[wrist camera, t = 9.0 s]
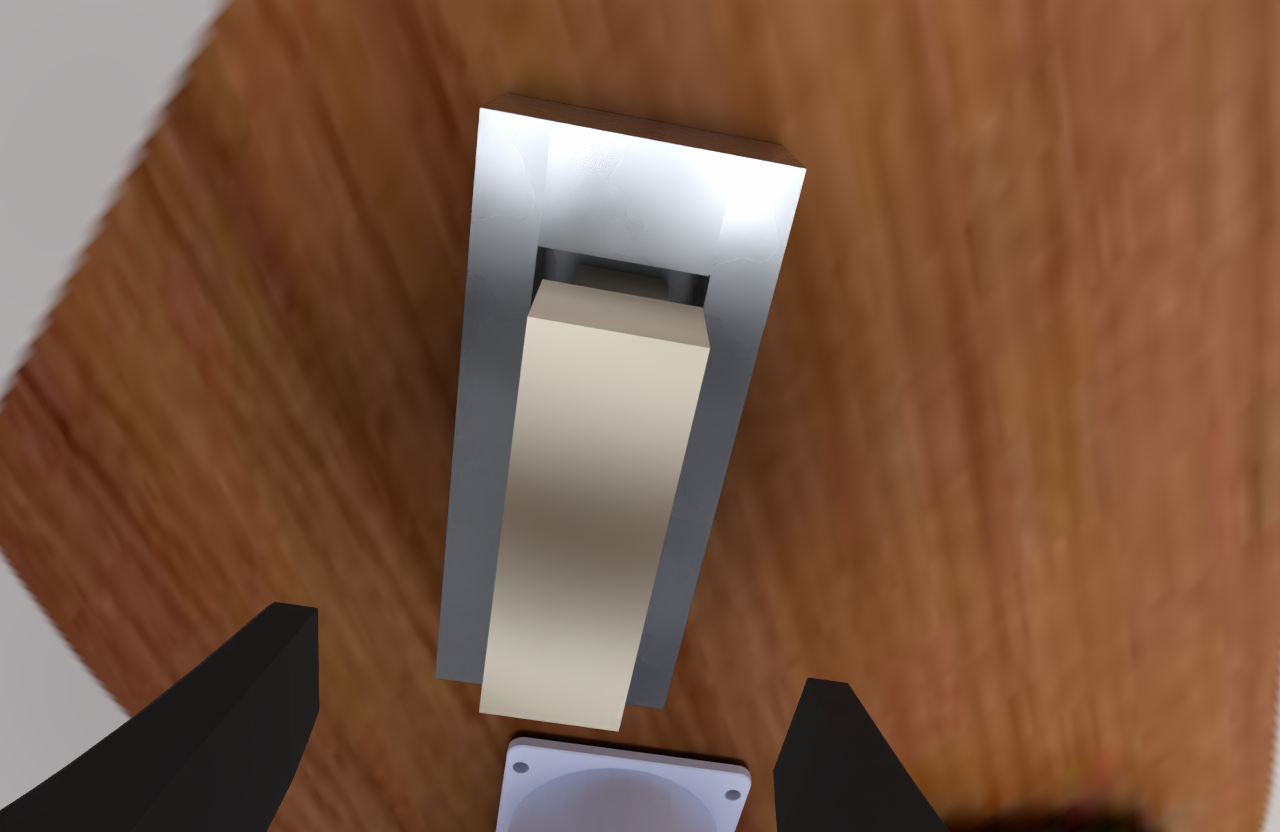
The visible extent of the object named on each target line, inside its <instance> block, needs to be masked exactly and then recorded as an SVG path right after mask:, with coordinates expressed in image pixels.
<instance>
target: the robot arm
mask: <svg viewBox="0 0 1280 832" xmlns="http://www.w3.org/2000/svg"><path fill="white" fill-rule="evenodd" d="M318 712H319V660H318V608H314V607H307V606H300V605H293V604H286V603H279V602H274V603H272V604H271V605H269V606H268V607H266V608H265V609H264V610H263V611H262V612H260V613H259V614H258V615H257V616H256V617H254V618H253V619H252V620H251V621H250V622H249V623H247V624H246V625H245V626H244V627H243V628H242V629H240V630H239V631H238V632H237V633H236V634H235V635H233V636H232V637H231V638H230V639H229V640H228V641H226V642H225V643H224V644H223V645H222V646H221V647H219V648H218V649H217V650H216V651H215V652H213V653H212V654H211V655H210V656H209V657H207V658H206V659H205V660H204V661H203V662H201V663H200V664H199V665H198V666H197V667H195V668H194V669H193V670H192V671H190V672H189V673H188V674H187V675H186V676H184V677H183V678H182V679H180V680H179V681H178V682H177V683H175V684H174V685H173V686H172V687H170V688H169V689H168V690H167V691H165V692H164V693H163V694H162V695H160V696H159V697H158V698H157V699H155V700H154V701H153V702H152V703H150V704H149V705H148V706H147V707H145V708H144V709H143V710H142V711H140V712H139V713H138V714H136V715H135V716H134V717H132V718H131V719H130V720H128V721H127V722H126V723H124V724H123V725H122V726H120V727H119V728H118V729H116V730H115V731H114V732H112V733H111V734H109V735H108V736H107V737H105V738H104V739H103V740H101V741H100V742H98V743H97V744H96V745H94V746H93V747H92V748H90V749H89V750H88V751H86V752H85V753H83V754H82V755H81V756H79V757H78V758H77V759H75V760H74V761H73V762H71V763H70V764H68V765H67V766H66V767H64V768H63V769H61V770H60V771H58V772H57V773H56V774H54V775H52V776H51V777H50V778H48V779H47V780H45V781H44V782H42V783H41V784H39V785H38V786H36V787H35V788H33V789H32V790H30V791H29V792H28V793H26V794H25V795H23V796H21V797H20V798H19V799H17V800H15V801H14V802H12V803H11V804H9V805H7V806H6V807H4V808H3V809H1V810H0V832H267V830H268V828H269V826H270V824H271V822H272V820H273V818H274V816H275V814H276V812H277V810H278V808H279V806H280V804H281V802H282V800H283V798H284V796H285V794H286V792H287V790H288V788H289V786H290V784H291V782H292V780H293V778H294V775H295V773H296V770H297V768H298V765H299V762H300V760H301V757H302V755H303V752H304V750H305V747H306V744H307V742H308V739H309V736H310V734H311V731H312V728H313V726H314V723H315V720H316V718H317V715H318ZM520 762H523V763H520ZM773 773H774V790H775V807H776V820H777V832H950V831H949V830H948V829H947V827H946V826H945V825H944V823H943V822H942V820H941V819H940V818H939V816H938V815H937V813H936V812H935V811H934V809H933V808H932V806H931V805H930V804H929V802H928V801H927V799H926V798H925V797H924V795H923V794H922V792H921V791H920V790H919V788H918V787H917V785H916V784H915V782H914V781H913V780H912V778H911V777H910V775H909V774H908V772H907V771H906V769H905V768H904V767H903V765H902V764H901V762H900V761H899V759H898V758H897V756H896V755H895V753H894V752H893V750H892V749H891V747H890V746H889V744H888V743H887V741H886V740H885V738H884V737H883V735H882V734H881V732H880V731H879V729H878V728H877V726H876V725H875V723H874V722H873V720H872V719H871V717H870V716H869V714H868V713H867V711H866V710H865V708H864V707H863V705H862V704H861V702H860V701H859V699H858V698H857V696H856V695H855V693H854V692H853V690H852V689H851V687H850V686H849V684H848V683H843V682H836V681H829V680H822V679H815V678H808V679H807V681H806V684H805V687H804V690H803V692H802V695H801V698H800V700H799V703H798V706H797V708H796V711H795V714H794V716H793V719H792V722H791V725H790V727H789V730H788V733H787V735H786V738H785V741H784V743H783V746H782V749H781V752H780V754H779V757H778V760H777V762H776V765H775V768H774V770H773ZM750 787H751V776H750V772H749V771H748V770H747V769H746V768H745V767H742V766H739V765H731V764H724V763H716V762H709V761H701V760H694V759H686V758H679V757H671V756H664V755H656V754H648V753H641V752H633V751H626V750H618V749H611V748H603V747H596V746H588V745H581V744H573V743H566V742H558V741H550V740H543V739H535V738H528V737H519V738H516V739H514V740H512V741H511V742H510V744H509V746H508V751H507V757H506V764H505V771H504V778H503V785H502V792H501V799H500V806H499V813H498V820H497V827H496V832H735V829H736V826H737V824H738V821H739V818H740V815H741V812H742V810H743V807H744V804H745V801H746V798H747V796H748V793H749V790H750Z"/></svg>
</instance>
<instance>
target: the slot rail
mask: <svg viewBox="0 0 1280 832" xmlns="http://www.w3.org/2000/svg"><path fill="white" fill-rule="evenodd" d="M805 173H806V168H805V167H804V166H803V165H802V164H801V163H800V162H799V161H798V160H797V159H796V158H795V157H794V156H793V155H792V154H791V153H790V152H789V151H788V150H787V149H786V148H785V147H784V146H783V145H780V144H774V143H769V142H764V141H759V140H753V139H748V138H743V137H737V136H732V135H727V134H722V133H716V132H711V131H706V130H701V129H695V128H690V127H685V126H679V125H674V124H669V123H664V122H658V121H653V120H648V119H642V118H637V117H632V116H627V115H621V114H616V113H611V112H605V111H600V110H595V109H590V108H584V107H579V106H574V105H569V104H563V103H558V102H553V101H547V100H542V99H537V98H532V97H526V96H521V95H516V94H510V93H506V94H504V95H502V96H501V97H499V98H497V99H495V100H493V101H491V102H489V103H488V104H486V105H484V106H482V107H480V114H479V126H478V139H477V152H476V165H475V177H474V190H473V203H472V216H471V229H470V241H469V254H468V267H467V280H466V292H465V305H464V318H463V331H462V344H461V356H460V369H459V382H458V395H457V407H456V420H455V433H454V446H453V458H452V471H451V484H450V497H449V510H448V522H447V535H446V548H445V561H444V573H443V586H442V599H441V612H440V625H439V637H438V650H437V663H436V676H435V678H439V679H446V680H454V681H461V682H468V683H476V684H483V676H484V668H485V659H486V651H487V643H488V635H489V627H490V619H491V610H492V602H493V594H494V586H495V578H496V569H497V561H498V553H499V545H500V537H501V529H502V520H503V512H504V504H505V496H506V488H507V479H508V471H509V463H510V455H511V447H512V439H513V430H514V422H515V414H516V406H517V398H518V389H519V381H520V373H521V365H522V357H523V349H524V340H525V332H526V324H527V316H528V314H529V311H530V309H531V307H532V304H533V302H534V299H535V297H536V294H537V292H538V289H539V287H540V284H541V282H542V280H543V279H544V280H550V281H555V282H561V283H567V284H572V285H573V283H574V280H575V276H576V273H577V269H578V266H579V264H581V265H586V266H592V267H597V268H603V269H608V270H614V271H620V272H625V273H631V274H636V275H642V276H647V277H653V278H659V279H664V280H668V289H669V302H673V303H679V304H685V305H690V306H696V307H702V308H703V312H704V317H705V323H706V328H707V334H708V339H709V345H710V351H709V355H708V359H707V364H706V368H705V372H704V376H703V380H702V385H701V389H700V393H699V397H698V401H697V405H696V410H695V414H694V418H693V422H692V426H691V431H690V435H689V439H688V443H687V447H686V451H685V456H684V460H683V464H682V468H681V472H680V477H679V481H678V485H677V489H676V493H675V497H674V502H673V506H672V510H671V514H670V518H669V523H668V527H667V531H666V535H665V539H664V543H663V548H662V552H661V556H660V560H659V564H658V569H657V573H656V577H655V581H654V585H653V589H652V594H651V598H650V602H649V606H648V610H647V615H646V619H645V623H644V627H643V631H642V635H641V640H640V644H639V648H638V652H637V656H636V661H635V665H634V669H633V673H632V677H631V681H630V686H629V690H628V694H627V698H626V702H625V704H629V705H637V706H644V707H651V708H659V709H664V705H665V701H666V698H667V694H668V690H669V686H670V682H671V679H672V675H673V671H674V667H675V664H676V660H677V656H678V652H679V648H680V645H681V641H682V637H683V633H684V630H685V626H686V622H687V618H688V614H689V611H690V607H691V603H692V599H693V596H694V592H695V588H696V584H697V580H698V577H699V573H700V569H701V565H702V562H703V558H704V554H705V550H706V547H707V543H708V539H709V535H710V531H711V528H712V524H713V520H714V516H715V513H716V509H717V505H718V501H719V497H720V494H721V490H722V486H723V482H724V479H725V475H726V471H727V467H728V463H729V460H730V456H731V452H732V448H733V445H734V441H735V437H736V433H737V429H738V426H739V422H740V418H741V414H742V411H743V407H744V403H745V399H746V395H747V392H748V388H749V384H750V380H751V377H752V373H753V369H754V365H755V362H756V358H757V354H758V350H759V346H760V343H761V339H762V335H763V331H764V328H765V324H766V320H767V316H768V312H769V309H770V305H771V301H772V297H773V294H774V290H775V286H776V282H777V278H778V275H779V271H780V267H781V263H782V260H783V256H784V252H785V248H786V244H787V241H788V237H789V233H790V229H791V226H792V222H793V218H794V214H795V210H796V207H797V203H798V199H799V195H800V192H801V188H802V184H803V180H804V176H805Z"/></svg>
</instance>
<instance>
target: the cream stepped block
mask: <svg viewBox="0 0 1280 832" xmlns="http://www.w3.org/2000/svg"><path fill="white" fill-rule="evenodd" d="M709 351H710V345H709V339H708V334H707V328H706V323H705V317H704V312H703V308H702V307H696V306H690V305H685V304H679V303H673V302H669V289H668V280H664V279H659V278H653V277H647V276H642V275H636V274H631V273H625V272H620V271H614V270H608V269H603V268H597V267H592V266H586V265H581V264H579V266H578V269H577V273H576V276H575V280H574V283H573V285H572V284H567V283H561V282H555V281H550V280H544V279H543V280H542V282H541V284H540V287H539V289H538V292H537V294H536V297H535V299H534V302H533V304H532V307H531V309H530V311H529V314H528V316H527V324H526V332H525V340H524V349H523V357H522V365H521V373H520V381H519V389H518V398H517V406H516V414H515V422H514V430H513V439H512V447H511V455H510V463H509V471H508V479H507V488H506V496H505V504H504V512H503V520H502V529H501V537H500V545H499V553H498V561H497V569H496V578H495V586H494V594H493V602H492V610H491V619H490V627H489V635H488V643H487V651H486V659H485V668H484V676H483V684H482V692H481V700H480V709H479V712H480V713H487V714H495V715H502V716H509V717H516V718H524V719H531V720H538V721H546V722H553V723H560V724H567V725H575V726H582V727H589V728H596V729H604V730H611V731H618V732H619V727H620V723H621V719H622V715H623V711H624V707H625V702H626V698H627V694H628V690H629V686H630V681H631V677H632V673H633V669H634V665H635V661H636V656H637V652H638V648H639V644H640V640H641V635H642V631H643V627H644V623H645V619H646V615H647V610H648V606H649V602H650V598H651V594H652V589H653V585H654V581H655V577H656V573H657V569H658V564H659V560H660V556H661V552H662V548H663V543H664V539H665V535H666V531H667V527H668V523H669V518H670V514H671V510H672V506H673V502H674V497H675V493H676V489H677V485H678V481H679V477H680V472H681V468H682V464H683V460H684V456H685V451H686V447H687V443H688V439H689V435H690V431H691V426H692V422H693V418H694V414H695V410H696V405H697V401H698V397H699V393H700V389H701V385H702V380H703V376H704V372H705V368H706V364H707V359H708V355H709Z"/></svg>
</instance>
